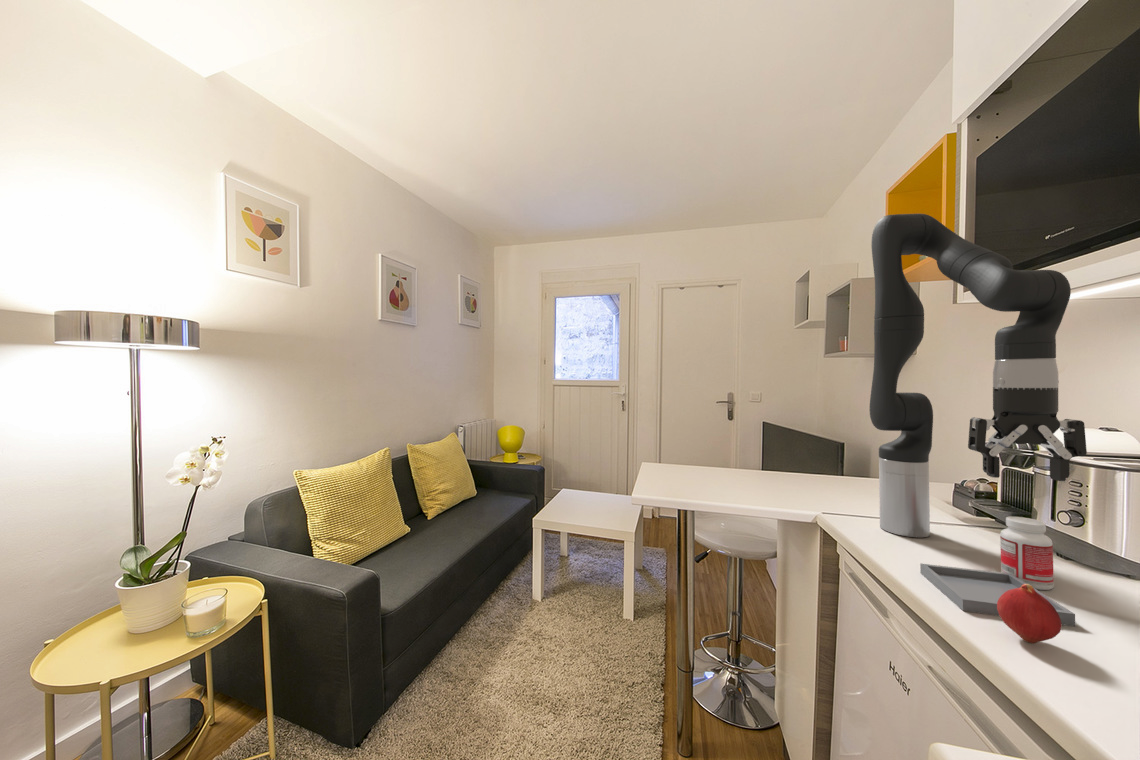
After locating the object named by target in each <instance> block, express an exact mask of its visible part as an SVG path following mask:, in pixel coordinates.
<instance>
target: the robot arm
mask: <svg viewBox="0 0 1140 760" xmlns="http://www.w3.org/2000/svg"><path fill="white" fill-rule="evenodd" d="M911 255H920V256H924V257H928V258H932V259H933V260H935V261H936V264H937V268H938V270H939V272H941V273H942V274H943V276H945V277H946V278H948V279H950V280H951V281H953V282H955V283H957V284H959V285H960V286H962V287H964V288H966V289H968V290H969V292H970V293H971V294H972V295H973V296H974V298H975V299H976V300H977V301H978V302H979V303H980V304H981V305H983V306H985V307H986V308H989V309H990V310H994V311H997V312H1002V313H1003V312H1005V313H1009V312H1010V313H1011V312H1016V313H1017V312H1019V314H1018V317H1017V319H1016V321H1015V324H1013V325H1009V326H1004V327H1002V328H1000V329H998V330H997V331H996V333H995V336H994V364H993V365H994V366H993V371H992V411H993V415H992V418H990V419H986V418H982V417H981V418H980V417H971V418H970V419H969V429H968V441H967V442H968V444H967V448H968V449H969V450H972V451H974V452H977V453H980V455H982V470H983V472H984V473H986V476H988V477H990V478H994V479H995V478H1000V476H1001V475H1000V472H1001V471H1000V468H1001V467H1000V465H1001V463H1000V461H1001V460H1000V459H1001V458H1000V456H998V455H999V454H1000V453H1001V452H1002V451H1004V449H1007V448H1009V447H1010V446H1011V445H1012V444H1015V445H1025V444H1026V445H1027V444H1031V445H1038V446H1040V447H1043V448H1044V449H1045V450H1046V451H1047V452H1048V453H1049V454H1050V455H1051V456H1050V457H1049V478H1050V479H1051V480H1053V481H1057V482H1066V480H1067V479H1068V478H1069V477H1070V460H1071V459H1072V458H1075V457H1085V456H1086V455H1087V454H1088V450H1087V443H1086V442H1087V440H1086V430H1085V428H1086V426H1085V422H1084V421H1083V420H1079V419H1070V418H1065V419H1061V420H1059V419H1058V417H1057V414H1058V412H1059V383H1060V382H1059V381H1060V380H1059V368H1058V364H1057V359H1056V357H1057V341H1056V339H1057V338H1056V337H1057V332H1058V330H1059V328H1060V325H1061V323H1062V322H1063V318H1064V315H1065V312H1066V310H1067V308H1068V305H1069V301H1070V298H1071V293H1072V292H1071V290H1072V289H1071V285H1070V282H1069V280H1068V278H1067V276H1066V275H1064V274H1063V273H1062V272H1060V271H1057V270H1053V269H1032V270H1031V269H1030V270H1029V269H1028V270H1027V269H1026V270H1025V269H1021V270H1017V269H1014V267H1013V263H1012V262H1011V260H1010V259H1009V258H1007V257H1006V256H1005V255H1002V254H1000V253H997V252H995V251H993V250H990V249H989V248H985V247H984V246H983V247H982V246H981V245H978V244H975V243H973V242H971V241H969V240H968V239H965V238H964V237H961V236H960V235H958V234H957V233H956V232H954V231H952V230H951V229H950V228H948V227H947V226H946V225H944V224H942V222H940V221H939V220H938V219H936V217H933V216H931V215H929V214H926V213H900V214H896V213H895V214H887V215H884V216H883V217H881V218H879V220H878V221H876V223H875V226H874V229H873V231H872V234H871V257H872V258H871V259H872V265H873V277H874V316H873V318H874V320H873V323H874V325H873V336H874V337H873V338H874V339H873V340H874V342H873V343H874V348H873V349H874V352H873V353H874V355H873V356H874V357H873V373H872V380H871V388H870V389H871V390H870V395H869V397H870V398H869V417H870V420H871V424H872V425H873V426H874V428H876V429H877V430H878V431H883V432H884V431H886V432H887V431H890V432H891V431H893V432H900V435H899V436H898V437H897V438H895V439H894V440H892V441H890V442H887V443H883V444H882V445H880V446H879V447H878V477H879V478H878V483H879V487H878V489H879V527H880V529H881V530H883V531H886V532H889V533H892V534H895V535H899V536H903V537H910V538H927V537H930V536H931V531H930V528H931V527H930V526H931V525H930V524H931V520H930V517H931V514H930V511H931V510H930V469H929V467H930V466H929V465H930V463H929V461H930V459H929V458H930V453H931V451H932V447H933V431H934V430H933V428H934V427H933V426H934V410H933V405H932V402H931V400H930V399H929V398H928V397H927V396H926V395H925V394H924V393H922V392H897V387H898V380H899V376H900V373H901V371H902V369H903V367H904V366H905V364H906V363H907V361H909V359H910V358H911V357H912V356H913V354H914V353H915V352H916V351H917V349H918V347H919V346H920V345H921V342H922V341H923V338H924V334H925V309H924V306H923V303H922V301H921V299H920V298H919V296H918V295H917V293H916V291H915V290H914V289H913V288H912V286H911V285H910V283H909V282H908V279H906V275H905V274H904V269H903V260H902V257H903V256H911ZM991 427H992V428H993V429H994V430H995V432H994V433H993V434H992V435H991V436H990V437H989V438H988V440H987V439H986V438H987V431H989V430H990V428H991ZM1059 429H1060V431H1061V432H1062V434H1063V442H1062V441H1061V440H1060V439H1058V437H1057V436H1056V435H1055V433H1056V432H1057V431H1058V430H1059ZM986 440H987V442H986Z"/></svg>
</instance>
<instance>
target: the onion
mask: <svg viewBox="0 0 1140 760" xmlns="http://www.w3.org/2000/svg"><path fill="white" fill-rule="evenodd" d="M997 609H998V613H999V615H1000V616H999V617H1000V619H1001V621H1002V622H1003V624H1005V625H1006V626H1007V627H1008V629H1011V630H1012V632H1014V633H1015V634H1017V635H1018V636H1019V637H1020V638H1021V639H1022V640H1023V641H1024V642H1026V643H1028V644H1036V643H1040V642H1044V641H1048V640H1051V639H1054V638H1055V637H1056V636H1058V635H1059V634H1060V633H1061V631H1062V627H1063V625H1062V624H1061V619H1060V617H1059V614H1058V613H1057V611H1056V610H1055V608H1054V607H1053V605H1052V604H1051V603H1050V602H1049V601H1048V600H1047V599H1045V598H1044V597H1043V596H1041V595H1040V594H1038V593H1037V592H1036V591H1035V590H1034V588H1033V587H1032V586H1031V585H1029V584H1023V585H1022V586H1021V587H1020V588H1015V589H1011V590H1008V591H1006V592H1005V593H1004V594H1002V595H1001V597H1000V598H999V599H998V602H997Z"/></svg>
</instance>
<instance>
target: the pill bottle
mask: <svg viewBox="0 0 1140 760" xmlns="http://www.w3.org/2000/svg"><path fill="white" fill-rule="evenodd" d="M1005 525H1006V526H1007V527H1006V528H1003V529H1002V530H1001V531H1000V534H999V536H1000V571H1001V573H1010V574H1012V575H1014V576H1015V577H1017V578H1018V579H1020V580H1022V581H1023V582H1025V583H1026V584H1029V585H1031V586H1032V587H1033V588H1034V589H1036V590H1038V591H1040V590H1041V591H1048V590H1053V588H1054V582H1055V580H1054V579H1055V578H1054V577H1055V576H1054V575H1055V574H1054V546H1053V545H1054V544H1053V541H1052V539H1051V538H1050V537H1049V536H1047V535H1046V534H1045V533H1046V531H1047V526H1046V523H1045V522H1044V521H1041V520H1038V519H1034V518H1029V517H1023V516H1011V515H1010V516H1006V517H1005Z"/></svg>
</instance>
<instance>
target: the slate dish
mask: <svg viewBox="0 0 1140 760" xmlns="http://www.w3.org/2000/svg"><path fill="white" fill-rule="evenodd" d="M919 565H920V568H919V570H920V574H921V575H922V576H924V578H925V579H926V580H928V581H929V582H930V583H931V584H932V585H934V587H935V588H937V589H938V590H939V591H940V592H941V593H942V594H944V595H945V597H947V599H949V601H951V602H952V603H954V605H956V606H957V607H958V608H959V609H960V610H961V611H962V612H969V613H974V614H975V613H977V614H984V615H992V616H998V617H1000V615H999V613H998V609H997V602H998V599H999V598H1000V597H1001V595H1002V594H1004V593H1005V592H1006V591H1008V590H1011V589H1015V588H1020V587H1021V586H1022V585H1023V584H1026V583H1025V582H1023V581H1022V580H1020V579H1018V578H1017V577H1015V576H1014V575H1012V574H1010V573H1001V572H1000V571H999V572H998V571H990V570H981V569H973V568H965V567H964V568H963V567H958V566H957V567H955V566H954V567H953V566H948V565H947V566H946V565H940V564H939V565H937V564H928V563H921V562H920V564H919ZM1034 590H1035V591H1036V592H1037V593H1038V594H1040V595H1041V596H1043V597H1044V598H1045V599H1047V600H1048V601H1049V602H1050V603H1051V604H1052V605H1053V607H1054V608H1055V610H1056V611H1057V613H1058V614H1059V617H1060V619H1061V624H1062V626H1070V627H1076V613H1074V612H1072V610H1070V609H1068V608H1067V607H1065V606H1063V605H1061V604H1060V603H1058V602H1056V601H1055V600H1054V599H1052V598H1050V597H1049V596H1047V595H1046V594H1044V593H1042V592H1041V591H1040V590H1037V589H1034Z"/></svg>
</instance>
